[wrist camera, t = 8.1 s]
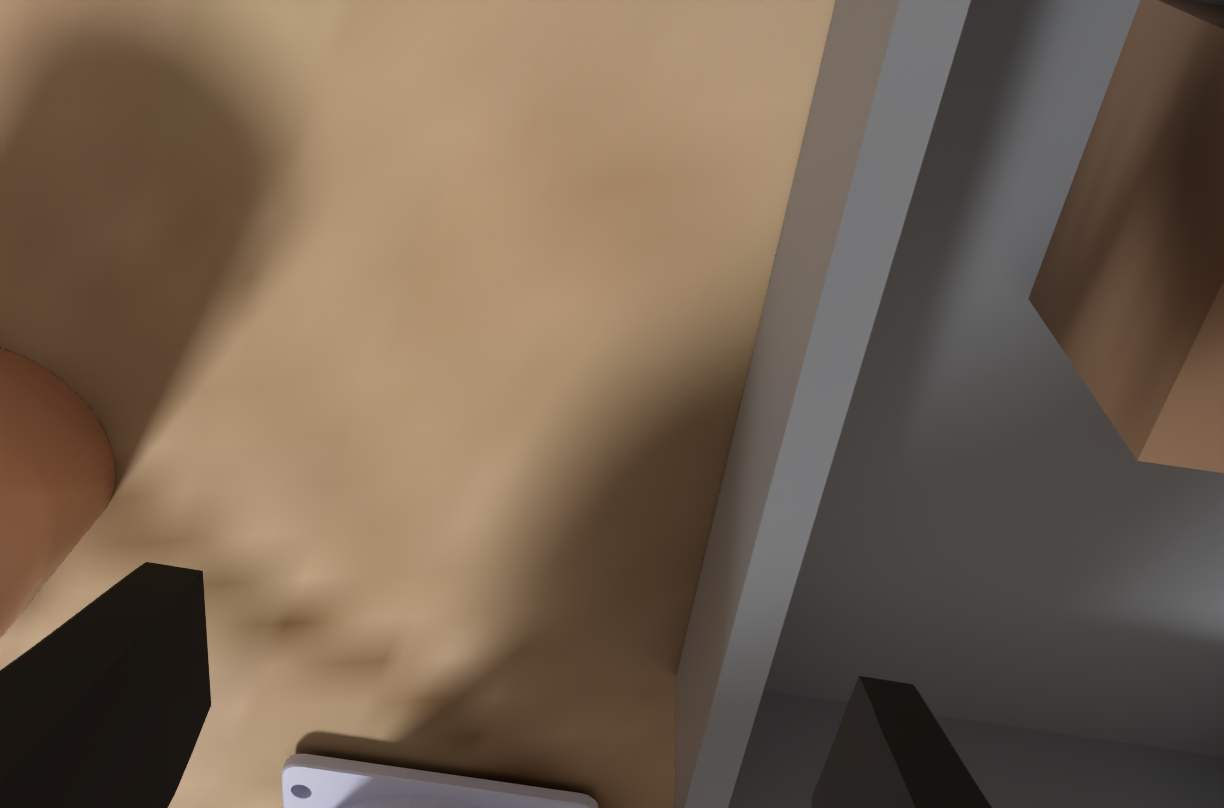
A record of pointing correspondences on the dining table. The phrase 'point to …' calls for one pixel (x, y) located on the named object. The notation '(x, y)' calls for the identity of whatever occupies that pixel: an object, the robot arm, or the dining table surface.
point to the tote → (949, 452)
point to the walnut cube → (1150, 242)
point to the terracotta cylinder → (44, 478)
